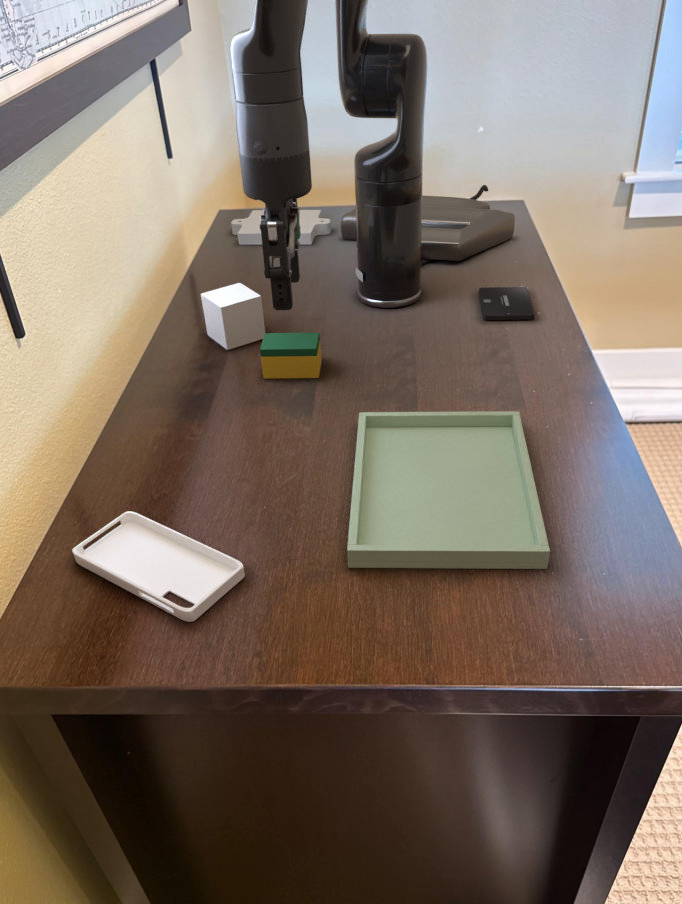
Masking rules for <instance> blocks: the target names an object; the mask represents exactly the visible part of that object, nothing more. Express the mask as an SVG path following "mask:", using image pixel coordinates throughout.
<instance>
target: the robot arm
mask: <svg viewBox="0 0 682 904" xmlns="http://www.w3.org/2000/svg"><path fill="white" fill-rule="evenodd" d="M368 3H369V0H334V6H335V27H336V28H335V29H336V31H335V32H336V53H337V54H336V55H337V74H338V84H339V93H340V98H341V102H342V106H343V108H344V110H345V112H346V113H347V114H348V115H349V116H350V117H353V118H359V119H396V129H395V130H394V131H393V132H392V133H390V135H387V137H384V138H383V139H380V140H378V141H376V142H372V143H369V144H368V145H365V146H362V147H361V148H359V149H358V150H357V151H356V153H355V155H354V159H353V162H354V163H353V168H354V169H353V170H354V195H355V209H356V225H357V240H356V250H357V251H356V253H357V267H355V277H357V285H358V288H357V298H358V300H359V301H360V302H362V303H363V304H365V305H367V306H370V307H375V308H383V309H393V308H401V307H405V306H406V307H407V306H409V305H412V304H413V303H414V304H415V303H416V302H418V301H419V300H420V299H421V297H422V286H421V283H422V281H421V280H422V279H421V278H422V277H421V274H422V267H423V266H425V265H427V264H428V263H430V262H431V261H433V259H421V235H422V195H423V169H424V168H423V166H424V165H423V164H424V163H423V162H424V161H423V160H424V159H423V158H424V137H425V135H424V132H425V131H424V129H425V126H424V125H425V112H426V111H425V110H426V99H427V98H426V97H427V96H426V95H427V85H428V54H427V47H426V45H425V41H424V40H423V37H421V36H420V35H419V34H417V33H368V29H367V10H368ZM308 5H309V0H255V6H254V13H253V21H252V26H251V27H250V28H245V29H244V30H243V29H242V30H241V31H239V32H237V33H236V34H234V36H233V37H232V39H231V41H230V44H229V49H230V50H229V56H230V65H231V66H230V67H231V75H232V83H233V84H232V85H233V92H234V102H235V103H234V104H235V132H236V139H237V148H238V157H239V166H240V173H241V181H242V190H243V194H244V195H245V196H246V197H247V198H249V199H251V200H253V201H254V200H255V201H260V202H263V204H264V208H263V210H264V215H261V224H260V230H261V237H262V245H261V247H262V258H263V266H264V270H263V275H264V277H265V279H269V281H270V289H271V298H272V307H273V310H275V311H291V310H292V309H293V305H294V301H293V288H292V284H293V283H295V284H296V283H298V282H299V281H300V280H301V279H300V278H301V274H300V273H301V272H300V261H299V260H300V259H299V248H300V246H301V245H300V242H299V240H298V239H300V236H301V232H300V224H299V217H300V212H299V210H300V207H299V206H298V199H300V198H303V197H305V196H306V195H307V196H308V194H310V192H311V190H312V188H313V186H312V185H313V183H312V167H311V166H312V165H311V153H310V139H309V138H310V137H309V121H308V116H307V115H308V114H307V109H306V104H305V97H304V83H303V82H304V81H303V70H302V69H303V67H302V57H301V55H302V54H301V51H302V43H303V38H304V37H303V36H304V31H305V26H306V17H307V10H308ZM484 192H489V187H488V185H486V184H483V185H481V187H480V188H479V190H478V191H477V193H476V194H475V195H473V196H471V197H470V198H469V199H473V200H477V201H478V199H479V198H480V197H481V196H482V195H483V193H484ZM275 259H279V265H280V266H274V260H275Z"/></svg>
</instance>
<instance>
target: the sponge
mask: <svg viewBox="0 0 682 904" xmlns="http://www.w3.org/2000/svg"><path fill="white" fill-rule="evenodd" d="M259 354H260V362H261V371H262V377H263V379H266V380H267V379H270V380H271V379H319V378H320V372H321V366H322V362H323V361H322V347H321V334H320V332H265V335H264V338H263V339H262V342H261V344H260V348H259Z"/></svg>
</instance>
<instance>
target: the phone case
mask: <svg viewBox="0 0 682 904" xmlns="http://www.w3.org/2000/svg"><path fill="white" fill-rule="evenodd" d="M119 522H120V525H118V526H117V527H115V528H113V529H112V530H111V531H109V532H108V533H106V534H105V535H103V536H102V537H100V538H99V539H98V540H97V541H95V542H94V543H92V544H91V545H90V546H87V548H84V546H86V545H87V544H88V543H90V542H91V541H93V540H94V539H96V538H97V537H99V536H100V535H101V534H103V533H104V532H106V531H108V529H110V528H112V527H113V526H114V525H115V524H117V523H119ZM71 551H72V554H73V557H74V560H75V562H76V564H78V565H79V566H80V567H83V568H84V569H86V570H88V571H90V572H91V573H94V574H95V575H97V576H99V577H101V578H103V579H105V580H106V581H108V582H111V583H112V584H114V585H116V586H117V587H120V588H122V589H124V590H125V591H126V592H129V593H130V594H132V595H135V596H137V597H138V598H140V599H142V600H144V601H146V602H147V603H150V604H151V605H153V606H155V607H156V608H159V609H161V610H163V611H164V612H166V613H168V614H170V615H172V616H174V617H176V618H177V619H179V620H182V621H184V622H188V623H192V622H195V621H196V620H197V619H198V618H200V617H201V616H202V615H203V614H204V613H205V612H206V611H208V610H209V609H210V608H211V607H212V606H213V605H215V604H216V603H217V602H218V601H219V600H220V599H221V598H222V597H224V596H225V595H226V594H227V593H228V592H229V591H230V590H232V588H234V587H235V586H236V585H237V584H238V583H239V582H241V581H243V579H244V578H245V576H246V575H245V567H244V564H243V563H242V562H241V561H240V560H238V559H237V558H234V557H232V556H230V555H228V554H226V553H224V552H221V551H219V550H217V549H215V548H213V547H210V546H209V545H207V544H204V543H202V542H200V541H198V540H196V539H193V538H191V537H189V536H187V535H185V534H183V533H180V532H178V531H176V530H174V529H172V528H170V527H168V526H166V525H163V524H162V523H159V522H157V521H155V520H152V519H151V518H148V517H147V516H145V515H142V514H140V513H138V512H135V511H128V510H127V511H125V512H123V513H121V514H120V515H119V516H118V517H116V518H114V519H113V520H112V521H110V522H109V523H107V524H106V525H105V526H103V527H101V528H100V529H99V530H97V531H96V532H95V533H93V534H91V535H89V536H88V537H87V538H86V539H84V540H83V541H81V542H80V543H78V544H77V545H76V546H74V547H73V548H72V549H71ZM169 593H171V594H173V595H175V596H176V597H179V598H181V599H183V600H185V601H186V602H188V603H190V604H192V606H190V607H184V606H181V605H178V604H176V603H174V602H173V601H171V600H169V599H167V598H165V596H166V595H167V594H169Z"/></svg>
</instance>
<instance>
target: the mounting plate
mask: <svg viewBox="0 0 682 904" xmlns="http://www.w3.org/2000/svg"><path fill="white" fill-rule="evenodd" d="M299 212H300V217H299V224H300V232H301V236H300V239H298V240H299V242H300V246H302V245H303V246H306V245H308V246H309V245H312V244H313V242H314V240H315V238H316V237H317V236H328V235H330V234H331V233H332V225H331V224H332V223H331V219H330V218H326V217H325V218H323V216H322V214H323V213H322V209H299ZM261 215H264V209H253V210H252V211H251V212H250V214H249V215H248V217H245V218H235V219H232V220H231V222H230V226H231V233H232V235H234V236H237V242H238V245H240V246H249V245H251V246H253V245H254V246H256V245H257V246H258V245H259V246H260V245H261V246H262V237H261V230H260V224H261Z"/></svg>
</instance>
